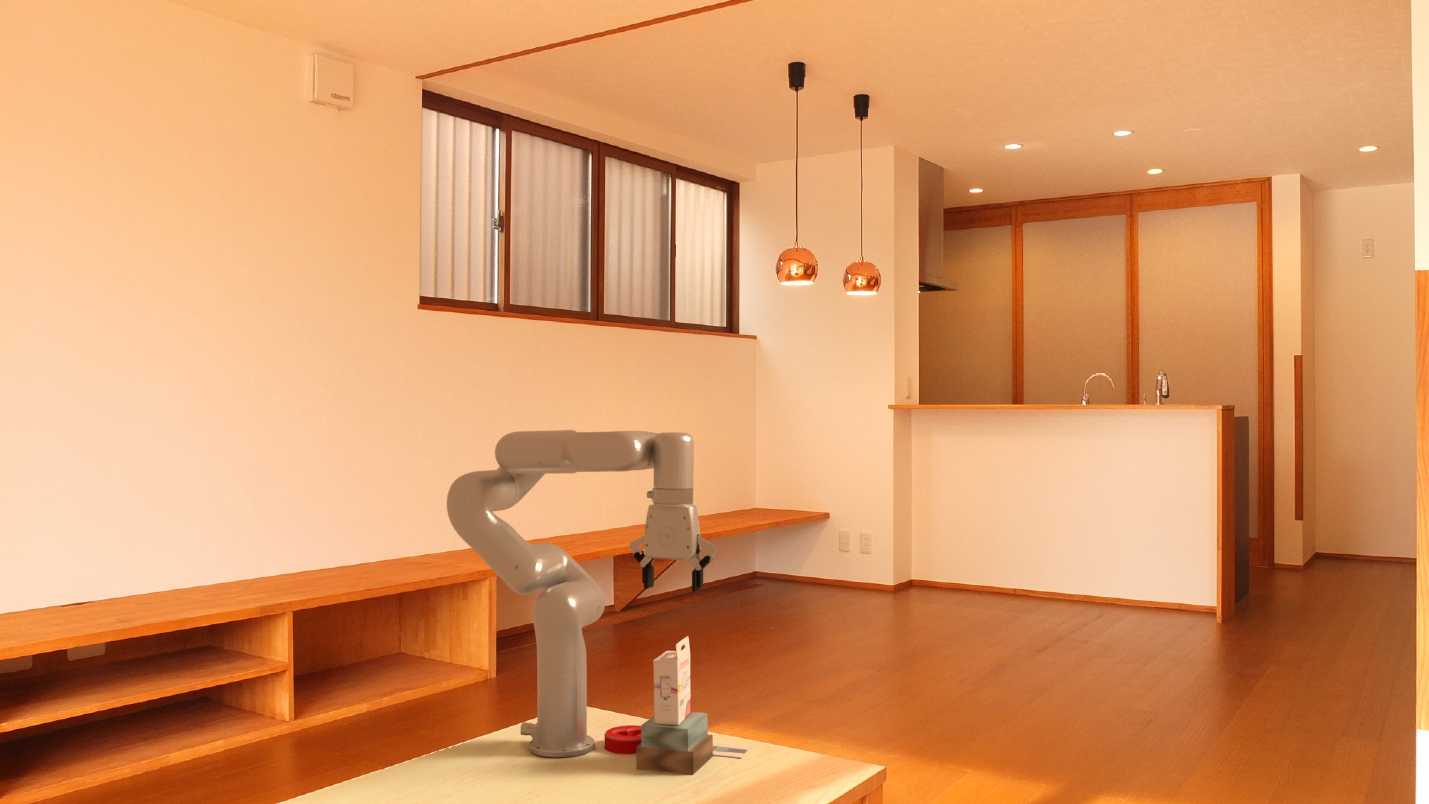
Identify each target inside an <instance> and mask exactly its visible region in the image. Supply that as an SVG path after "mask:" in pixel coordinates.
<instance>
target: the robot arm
mask: <svg viewBox="0 0 1429 804" xmlns="http://www.w3.org/2000/svg"><path fill="white" fill-rule="evenodd" d="M694 441H695V440H694V438H693V436H692V435H691V434H690V433H688V432H679V431H678V432H677V431H676V432H675V431H674V432H667V431H666V432H660V433H659V432H653V431H645V430H620V431H619V430H616V431H614V430H613V431H585V432H584V431H576V430H573V429H561V430H559V429H555V430H528V431H527V430H524V431H523V430H521V431H518V430H517V431H511V432H509V433H506V434H504V435H503V436H502V437H501V438H500V439H498V441H497V443H496V445H495V449H494V456H495V461H496V463H497V465H498V466H499V467H497V469H490V470H477V471H470V472H467V473H465V474H462V475H460V476H459V477H457V478H456V479H455V480H454V481H453V482H452V483H451V485H450V487H449V489H448V493H447V497H446V511H447V517H448V518H449V519H448V520H449V522H450V523H451V526H452V527H453V529H454V530H455V532H456V533H457V535H458V536H459V537H460V539H462V540H463V541H464V542H465V543H466V544H467V545H468V546H469V547H470V548H471V549H472V550H473V551H474V552H475V553H476V554H477V555H478V556H479V557H480V558H481V559H482V560H483V561H484V562H485V563H486V564H487V566H488V567H489V568H490V569H492V571H493V573H495V574H496V575H497V576H498V577H499V578H500V579H501V580H502V582H503V583H504V584H505V585H507V587H509V589H511V590H512V591H513V592H514V593H515V594H519V595H522V596H526V595H533V594H536V593H539V592H541V593H540V594H539V595H538V597H537V598H536V600H535V602H534V604H533V607H532V608H533V609H532V621H533V627H534V633H535V640H536V662H537V664H536V668H537V671H536V672H537V681H536V683H537V684H536V685H537V688H536V690H537V694H536V695H537V698H536V699H537V701H536V702H537V703H536V706H537V714H536V715H537V716H536V717H537V720H536V723H532V722H526V721H525V722H524V721H523V722H522V723H521V724H520V736H530V737H531V738H532V739H531V741H529V745H528V746H529V747H528V749H529V751H530V752H531V753H532V754H534V755H537V756H540V757H546V758H547V757H548V758H567V757H574V756H580V755H584V754H587V753H589V752H591V751H592V750H593V749H594V748H595V746H596V744H595V739H594V738H593V737H592V736H590V735H588V730H587V729H588V725H587V724H588V721H587V720H588V717H587V716H588V713H587V712H588V711H587V709H588V706H587V705H588V703H587V702H588V696H587V693H588V691H587V689H588V688H587V686H588V685H587V684H588V683H587V681H588V676H587V674H588V673H587V672H588V671H587V670H588V669H587V668H588V667H587V665H588V664H587V662H588V661H587V649H586V643H585V639H584V635H583V630H582V628H584V627H588V626H590V625H592V624H594V623H595V622H596V621H598V620H599V619H600V618H601V617H602V615H603V614H604V611H605V608H606V598H605V594H604V592H603V590H602V588H601V587H600V585H599V584H598V583H597V581H596V580H595V579H594V578H593V577H592V576H591V575H590V574H589V573H588V572H587V571H586V570H585V569H584V568H583V567H582V566H581V565H580V564H579V563H578V562H577V561H576V560H575V559H574V558H573V557H572V556H570V554H569V553H568V552H566V551H565V550H564V549H563V548H561V547H560V546H558V545H556V544H553V543H550V542H541V543H536V544H535V543H534V544H533V543H530V542H528V541H527V540H526V539H525V538H523V536H522V535H520V534H519V533H518V532H517V530H516V529H515V528H514V527H513V526H512V525H510V524H509V523H508V522H506V521H505V520H503V519H502V518H500V517H498V516H497V515H496V514H495V513H494V512H499V511H505V510H508V509H511V508H512V507H514V506H516V505H517V504H518V503H519V502H520V501H521V500H522V499H523V498H524V497H525V496H526V495H528V493H529V492H530V491H531V490H532V489H533V488H534V486H535V485H536V484H537V483H538V482H539V481H540V480H542V478H543V477H544V476H545V474H557V475H558V474H577V473H588V472H592V473H594V472H595V473H597V472H599V473H600V472H604V473H605V472H609V473H610V472H611V473H612V472H613V473H614V472H616V473H617V472H619V473H620V472H621V473H622V472H631V471H643V470H645V471H646V470H651V469H653V488H652V490H647V492H646V498H647V499H651V501H652V503H653V504H648V509H647V513H646V519H645V525H644V532H643V533H644V535H643V536H641V537H639V538H637V539H636V540H633V541H631V542H629V548H630V550H631V552H632V554H633V557H634V559H636V561H637V562H638V563H639V566H640V567H641V569H642V571H641V572H642V573H641V577H642V578H641V579H642V580H641V581H642V584H643V588H644V590H647V589H650V588H653V587H654V583H655V581H654V580H655V567H654V565H652V564H653V563H654V561H656V559H657V560H675V561H689V562H690V563H691V565H692V567H693V568H694V569H693V570H691V592H693V593H697V592H699V591H701V590H702V587H704V569H706V567H707V566H708V565H709V564H710V563H711V562H712V560H713V559H714V556H715V555H716V553H717V550H718V547H717V545H715V544H713V543H712V542H710V541H708V540H707V539H705V538H704V537H702V536H701V527H700V525H701V524H700V519H699V518H700V517H699V513H698V512H699V511H698V508H697V505H694V470H695V469H694V464H695V463H694V460H695V459H694V457H695V456H694V454H695V442H694ZM642 545H643V552H642V551H641V546H642ZM701 547H702V548H703V549H705V550H706V552H705V555H704V556H703V558H702V557H701V556H700V554H701V549H702V548H701Z"/></svg>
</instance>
